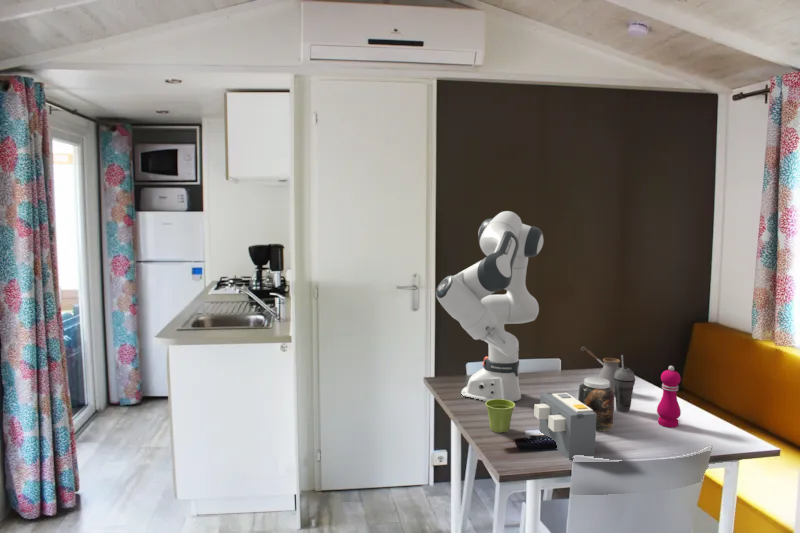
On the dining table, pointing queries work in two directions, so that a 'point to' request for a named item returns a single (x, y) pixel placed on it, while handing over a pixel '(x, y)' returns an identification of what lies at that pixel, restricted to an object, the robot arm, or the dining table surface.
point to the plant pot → (499, 414)
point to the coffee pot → (607, 367)
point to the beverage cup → (624, 388)
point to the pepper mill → (669, 399)
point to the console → (571, 425)
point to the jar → (598, 400)
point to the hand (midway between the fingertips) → (513, 357)
